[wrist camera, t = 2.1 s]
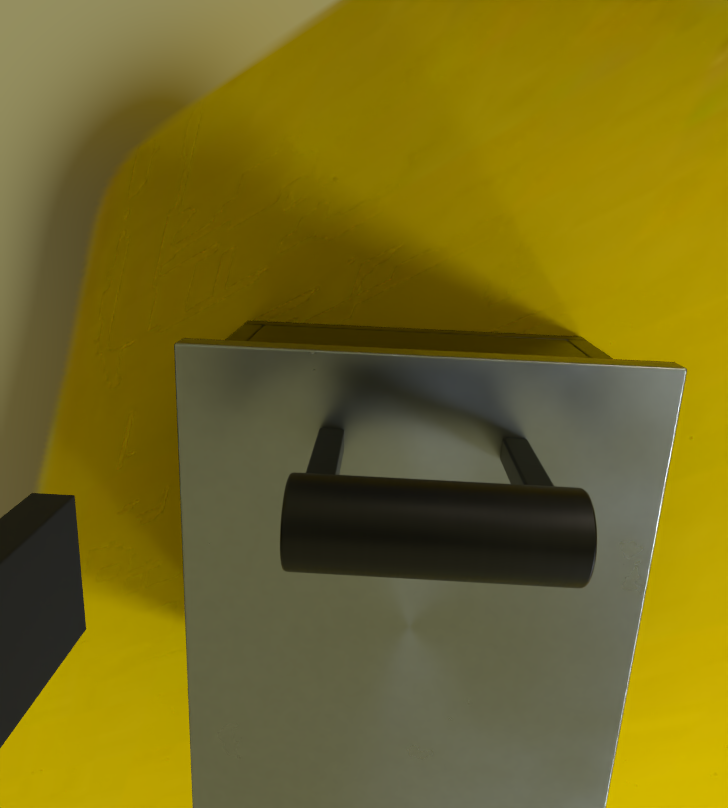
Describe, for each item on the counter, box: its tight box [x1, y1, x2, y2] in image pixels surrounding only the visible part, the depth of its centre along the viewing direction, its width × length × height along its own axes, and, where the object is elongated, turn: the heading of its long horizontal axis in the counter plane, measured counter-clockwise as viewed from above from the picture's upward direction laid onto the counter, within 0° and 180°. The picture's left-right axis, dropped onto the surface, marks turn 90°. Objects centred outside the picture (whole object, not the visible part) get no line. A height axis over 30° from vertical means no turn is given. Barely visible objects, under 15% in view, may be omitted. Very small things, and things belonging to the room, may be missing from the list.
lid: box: [174, 338, 687, 808], centre depth 18 cm, size 17×14×7 cm
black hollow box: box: [225, 321, 613, 359], centre depth 25 cm, size 16×14×9 cm
